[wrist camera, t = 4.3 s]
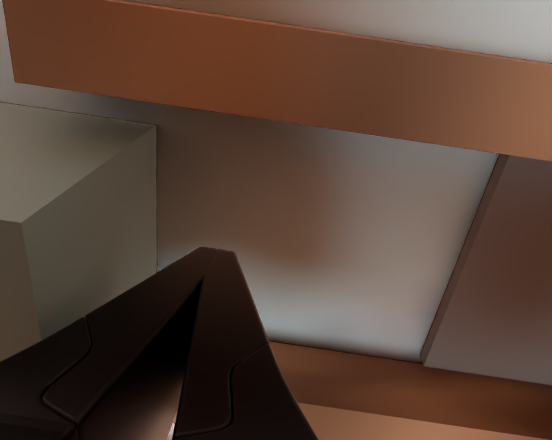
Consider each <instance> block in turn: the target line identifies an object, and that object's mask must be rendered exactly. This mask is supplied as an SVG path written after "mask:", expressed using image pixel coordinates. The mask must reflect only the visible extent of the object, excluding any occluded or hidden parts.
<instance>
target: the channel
mask: <svg viewBox="0 0 552 440" xmlns="http://www.w3.org/2000/svg"><path fill="white" fill-rule="evenodd" d="M2 1H3V8H4V14H5V21H6V27H7V34H8V40H9V47H10V53H11V60H12V66H13V73H14V79H15V82H17V83H24V84H31V85H37V86H44V87H51V88H58V89H65V90H71V91H78V92H85V93H92V94H98V95H105V96H112V97H119V98H126V99H132V100H139V101H146V102H153V103H160V104H166V105H173V106H180V107H187V108H194V109H200V110H207V111H214V112H221V113H228V114H234V115H241V116H248V117H255V118H261V119H268V120H275V121H282V122H289V123H295V124H302V125H309V126H316V127H323V128H329V129H336V130H343V131H350V132H357V133H363V134H370V135H377V136H384V137H390V138H397V139H404V140H411V141H418V142H424V143H431V144H438V145H445V146H452V147H458V148H465V149H472V150H479V151H486V152H492V153H499V154H506V155H513V156H519V157H526V158H533V159H540V160H547V161H552V63H545V62H539V61H532V60H525V59H518V58H511V57H505V56H498V55H491V54H484V53H477V52H471V51H464V50H457V49H450V48H443V47H437V46H430V45H423V44H416V43H409V42H403V41H396V40H389V39H382V38H375V37H369V36H362V35H355V34H348V33H341V32H335V31H328V30H321V29H314V28H307V27H301V26H294V25H287V24H280V23H273V22H267V21H260V20H253V19H246V18H239V17H233V16H226V15H219V14H212V13H205V12H199V11H192V10H185V9H178V8H171V7H165V6H158V5H151V4H144V3H137V2H131V1H124V0H2ZM269 344H270V345H271V347H272V350H273V352H274V355H275V358H276V360H277V362H278V365H279V367H280V369H281V372H282V374H283V376H284V378H285V380H286V382H287V384H288V386H289V388H290V390H291V392H292V394H293V395H294V397H295V399H296V401H297V403H298V405H299V406H300V408H301V410H302V412H303V413H304V415H305V417H306V419H307V420H308V422H309V424H310V425H311V427H312V429H313V431H314V432H315V434H316V436H317V438H318V439H319V440H552V385H547V384H540V383H533V382H527V381H520V380H513V379H506V378H499V377H493V376H486V375H479V374H472V373H466V372H459V371H452V370H445V369H439V368H432V367H425V366H423V364H419V363H412V362H405V361H399V360H392V359H385V358H378V357H371V356H365V355H358V354H351V353H344V352H338V351H331V350H324V349H317V348H311V347H304V346H297V345H290V344H283V343H277V342H270V341H269ZM176 416H177V413H176V415H175V418H174V420H173V423H175V421H176Z"/></svg>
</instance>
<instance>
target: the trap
mask: <svg viewBox="0 0 552 440" xmlns="http://www.w3.org/2000/svg"><path fill="white" fill-rule="evenodd" d="M420 357H421V360H422V363H423V366H425V367H432V368H439V369H445V370H452V371H459V372H466V373H472V374H479V375H486V376H493V377H499V378H506V379H513V380H520V381H527V382H533V383H540V384H547V385H552V161H547V160H540V159H533V158H526V157H519V156H513V155H506V154H500V155H499V158H498V160H497V163H496V165H495V168H494V170H493V173H492V175H491V178H490V180H489V183H488V185H487V188H486V191H485V193H484V196H483V198H482V201H481V203H480V206H479V208H478V211H477V213H476V216H475V218H474V221H473V223H472V226H471V228H470V231H469V233H468V236H467V239H466V241H465V244H464V246H463V249H462V251H461V254H460V256H459V259H458V261H457V264H456V266H455V269H454V271H453V274H452V276H451V279H450V281H449V284H448V287H447V289H446V292H445V294H444V297H443V299H442V302H441V304H440V307H439V309H438V312H437V314H436V317H435V319H434V322H433V324H432V327H431V329H430V332H429V335H428V337H427V340H426V342H425V345H424V347H423V350H422V352H421V355H420Z"/></svg>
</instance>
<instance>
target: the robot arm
mask: <svg viewBox="0 0 552 440" xmlns="http://www.w3.org/2000/svg"><path fill="white" fill-rule="evenodd" d="M176 413H177V416H176V421H175V427H174V432H173V437H172V440H319V439H318V438H317V436H316V434H315V432H314V431H313V429H312V427H311V425H310V424H309V422H308V420H307V419H306V417H305V415H304V413H303V412H302V410H301V408H300V406H299V405H298V403H297V401H296V399H295V397H294V395H293V394H292V392H291V390H290V388H289V386H288V384H287V382H286V380H285V378H284V376H283V374H282V372H281V369H280V367H279V365H278V362H277V360H276V358H275V355H274V352H273V350H272V347H271V345H270V344H269V340H268V337H267V335H266V332H265V330H264V327H263V324H262V322H261V319H260V317H259V314H258V311H257V309H256V306H255V304H254V301H253V298H252V296H251V293H250V291H249V288H248V285H247V283H246V280H245V277H244V275H243V272H242V270H241V267H240V264H239V262H238V259H237V257H236V254H235V252H233V251H227V250H220V249H218V250H217V249H214V248H207V247H200V248H198V249H196V250H194V251H193V252H191V253H189V254H187V255H186V256H184V257H182V258H181V259H179V260H177V261H176V262H174V263H172V264H171V265H169V266H167V267H166V268H164V269H162V270H161V271H159V272H157V273H155V274H154V275H152V276H150V277H149V278H147V279H145V280H144V281H142V282H140V283H139V284H137V285H135V286H134V287H132V288H130V289H129V290H127V291H125V292H124V293H122V294H120V295H118V296H117V297H115V298H113V299H112V300H110V301H108V302H107V303H105V304H103V305H102V306H100V307H98V308H97V309H95V310H93V311H92V312H90V313H88V314H87V315H86V316H85V317H81V318H79V319H78V320H76V321H74V322H73V323H71V324H69V325H68V326H66V327H64V328H62V329H61V330H59V331H57V332H55V333H54V334H52V335H50V336H48V337H46V338H45V339H43V340H41V341H39V342H37V343H36V344H34V345H32V346H30V347H28V348H26V349H24V350H22V351H20V352H18V353H16V354H14V355H12V356H10V357H8V358H6V359H4V360H2V361H0V440H166V438H167V436H168V433H169V431H170V428H171V426H172V423H173V420H174V418H175V415H176Z"/></svg>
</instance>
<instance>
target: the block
mask: <svg viewBox="0 0 552 440" xmlns="http://www.w3.org/2000/svg"><path fill="white" fill-rule="evenodd" d="M155 273H157V160H156V125H152V124H145V123H138V122H132V121H125V120H118V119H111V118H105V117H98V116H91V115H84V114H78V113H71V112H64V111H57V110H51V109H44V108H37V107H30V106H23V105H17V104H10V103H3V102H0V361H2V360H4V359H6V358H8V357H10V356H12V355H14V354H16V353H18V352H20V351H22V350H24V349H26V348H28V347H30V346H32V345H34V344H36V343H37V342H39V341H41V340H43V339H45V338H46V337H48V336H50V335H52V334H54V333H55V332H57V331H59V330H61V329H62V328H64V327H66V326H68V325H69V324H71V323H73V322H74V321H76V320H78V319H79V318H81V317H85V316H86V315H87V314H88V313H90V312H92V311H93V310H95V309H97V308H98V307H100V306H102V305H103V304H105V303H107V302H108V301H110V300H112V299H113V298H115V297H117V296H118V295H120V294H122V293H124V292H125V291H127V290H129V289H130V288H132V287H134V286H135V285H137V284H139V283H140V282H142V281H144V280H145V279H147V278H149V277H150V276H152V275H154V274H155Z"/></svg>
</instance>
